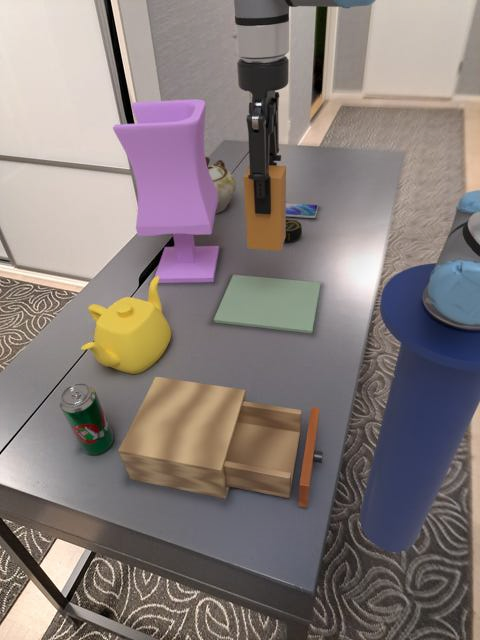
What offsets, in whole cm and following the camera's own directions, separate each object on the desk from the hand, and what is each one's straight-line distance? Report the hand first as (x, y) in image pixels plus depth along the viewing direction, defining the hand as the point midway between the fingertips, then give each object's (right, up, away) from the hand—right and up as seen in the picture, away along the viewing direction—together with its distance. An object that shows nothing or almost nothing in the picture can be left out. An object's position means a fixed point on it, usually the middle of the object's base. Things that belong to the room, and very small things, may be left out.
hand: (266, 204), depth 79 cm
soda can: (-27, -40, -9) cm, 49 cm away
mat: (+1, -17, +15) cm, 23 cm away
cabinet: (-12, -40, -11) cm, 44 cm away
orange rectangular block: (0, -6, +5) cm, 8 cm away
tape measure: (+7, 0, +35) cm, 35 cm away
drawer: (0, -41, -14) cm, 44 cm away
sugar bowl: (-13, +12, +50) cm, 53 cm away
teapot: (-26, -26, +7) cm, 38 cm away
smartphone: (+9, +10, +45) cm, 47 cm away
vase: (-17, -8, +28) cm, 34 cm away
